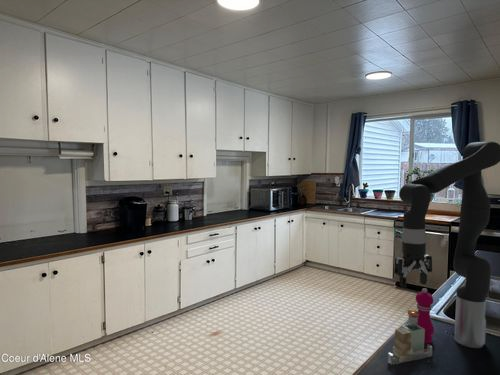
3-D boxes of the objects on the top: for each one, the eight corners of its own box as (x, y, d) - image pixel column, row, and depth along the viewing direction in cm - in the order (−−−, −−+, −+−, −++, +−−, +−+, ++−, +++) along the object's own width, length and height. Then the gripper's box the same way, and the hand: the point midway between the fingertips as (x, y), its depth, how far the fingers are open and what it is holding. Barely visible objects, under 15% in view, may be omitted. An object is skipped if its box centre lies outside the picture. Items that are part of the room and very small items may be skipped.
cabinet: (413, 343, 127) (413, 323, 127) (423, 350, 122) (424, 329, 122) (399, 346, 125) (400, 325, 125) (410, 353, 120) (411, 331, 120)
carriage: (404, 353, 118) (405, 327, 117) (412, 359, 115) (413, 332, 114) (392, 356, 116) (393, 329, 116) (400, 362, 113) (401, 334, 112)
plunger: (412, 324, 126) (413, 309, 125) (421, 329, 122) (421, 313, 122) (404, 326, 125) (405, 310, 124) (412, 331, 121) (413, 315, 121)
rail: (428, 353, 120) (428, 344, 120) (431, 356, 119) (432, 346, 119) (387, 363, 115) (388, 353, 114) (391, 365, 113) (391, 355, 113)
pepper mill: (409, 339, 130) (411, 288, 129) (416, 332, 136) (418, 283, 134) (429, 346, 125) (431, 293, 124) (436, 339, 130) (438, 288, 129)
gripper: (422, 236, 126) (421, 279, 127) (389, 239, 122) (389, 284, 123) (438, 241, 119) (437, 286, 120) (404, 244, 115) (404, 291, 116)
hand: (413, 285), depth 122 cm, fingers open, 8 cm apart
